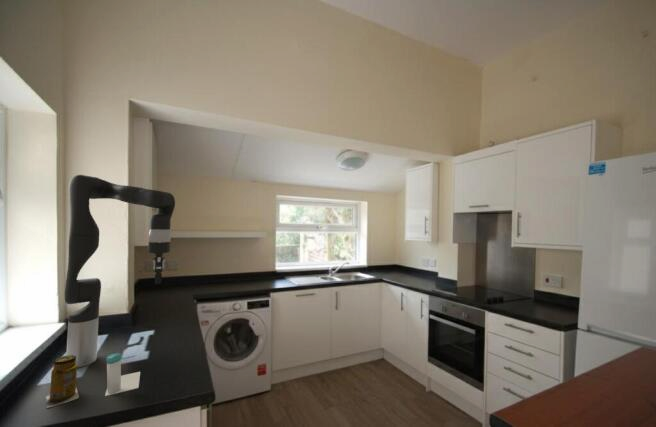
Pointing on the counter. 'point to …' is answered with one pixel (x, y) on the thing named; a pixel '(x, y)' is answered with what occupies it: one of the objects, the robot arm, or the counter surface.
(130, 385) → the paper
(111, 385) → the white bottle
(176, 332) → the counter surface
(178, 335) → the counter surface
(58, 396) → the condiment
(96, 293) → the robot arm
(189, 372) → the counter surface
